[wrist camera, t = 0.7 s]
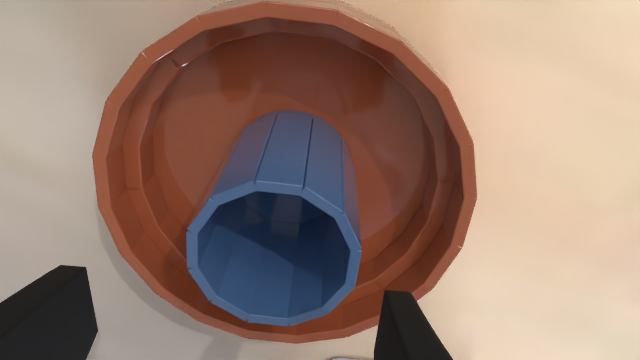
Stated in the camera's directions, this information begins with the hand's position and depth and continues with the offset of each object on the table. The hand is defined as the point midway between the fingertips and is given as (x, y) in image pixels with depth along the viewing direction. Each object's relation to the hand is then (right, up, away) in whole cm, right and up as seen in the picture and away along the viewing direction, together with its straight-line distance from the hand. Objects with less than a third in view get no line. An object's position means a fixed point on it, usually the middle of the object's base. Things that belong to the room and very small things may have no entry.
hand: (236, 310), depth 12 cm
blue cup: (+1, +4, +9) cm, 10 cm away
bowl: (+1, +4, +9) cm, 10 cm away
